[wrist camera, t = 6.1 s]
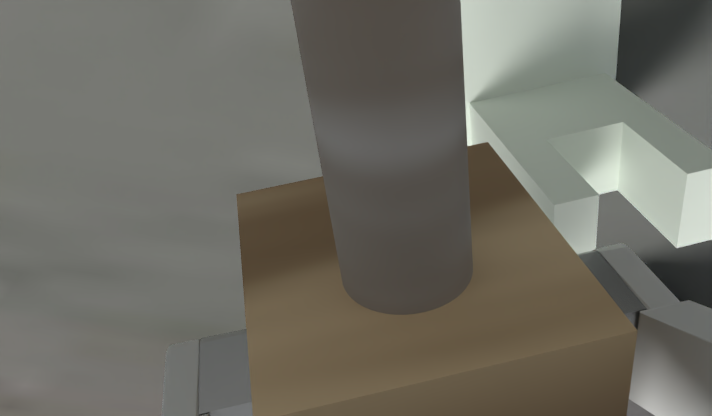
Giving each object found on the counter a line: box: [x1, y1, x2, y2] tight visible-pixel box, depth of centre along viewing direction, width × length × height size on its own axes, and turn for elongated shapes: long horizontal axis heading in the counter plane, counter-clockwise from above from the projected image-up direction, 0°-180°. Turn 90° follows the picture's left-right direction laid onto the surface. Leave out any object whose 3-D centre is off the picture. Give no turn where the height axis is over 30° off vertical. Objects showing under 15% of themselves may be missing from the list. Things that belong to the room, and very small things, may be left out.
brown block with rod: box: [237, 0, 637, 416], centre depth 10 cm, size 20×6×6 cm, turn 8°
